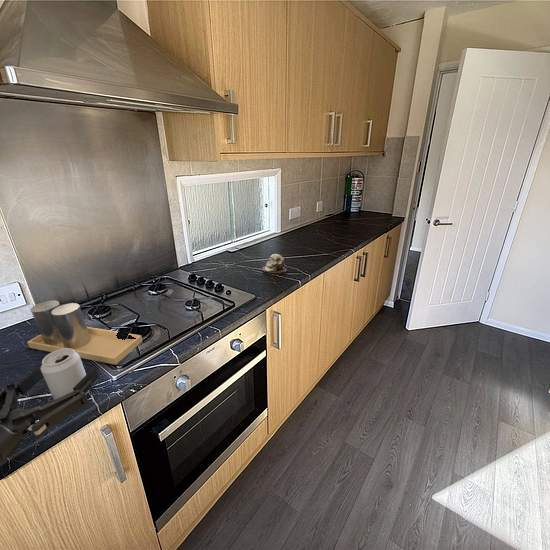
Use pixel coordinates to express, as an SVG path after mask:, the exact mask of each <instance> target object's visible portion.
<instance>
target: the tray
mask: <svg viewBox="0 0 550 550" xmlns="http://www.w3.org/2000/svg"><path fill="white" fill-rule="evenodd" d="M86 327H87V329H88V332H89V335H90V341H89V342H88V343H87V344H86V345H84V346H82V347H80V348H77V349H73V350H74V352H77V353H78V354H79V356H80V359H85V360H89V361H90V360H91V361H94V362H101V363H104V364H110V365H115V366H117V365H119V364H120V362H121V361H123V360H124V359H126V358H127V357H128V355H129V354H131V353H132V352H134V350H135V349H136V348H137V347H139V346H140V345H141V344H143V337H142V334H141V335H140V334H134V333H129V334H128V335H131V336H132V337H134V338H136V339H125V340H124V339H123V340H122V339H118V338H117V336H116V335H117V333H118V332H119V331H116V330H109V329H104V328H97V327H90V326H86ZM26 343H27V345H28V347H29V348H31V349H35V350H39V351H45V352H49V353H52V352H54V351H56V350H59V349H63V348H64V345H63V343H60V344H57V345H47V344H44V341H43V339H42V337H41V334H40V333H39V335H36V336H35V337H33V338H31V339H30V340H28V341H27V342H26Z"/></svg>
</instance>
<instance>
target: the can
mask: <svg viewBox="0 0 550 550" xmlns="http://www.w3.org/2000/svg"><path fill="white" fill-rule="evenodd" d="M41 365H42V366H41V372H42V374H43V376H44V377H43V379H44V381H45V383H46V385H47V387H48V390H49V392H50V395H51V396H52V399H53V401H54V400H56V399H58V398H60V397H62V396H64V395H66V394H69V393H71V392H73V391H74V390H73V388H74V387H75V386H76V385H77V384H78V383H79V382H80V381H81V380H82V379H83V378H84V377H85V376H86V375H87V373H86V370H85V367H84V363H83V361H82V358H80V356H79V354H78V353H77V352H74V350H73V349H71V348H63V349H59V350H56V351H54V352H49V353H48V354H46V355H45V356H44V358H42V360H41ZM89 392H90V390H89V391H88V392H87V393H86V395H87V394H89ZM73 398H74V397H73Z"/></svg>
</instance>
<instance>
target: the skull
mask: <svg viewBox="0 0 550 550" xmlns="http://www.w3.org/2000/svg"><path fill="white" fill-rule="evenodd" d="M268 259H269V260H267V261H266V264H265V265H264V266H263V267H262V268H261V269H262V272H265V273H269V274H275V275H276V274H282V273H285V272H287V271H288V268H287V267H286V266H285V258H284V257H283V256H282V255H280V254H278V253H274V254H271V255H270V256H269V258H268Z"/></svg>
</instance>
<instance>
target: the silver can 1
mask: <svg viewBox="0 0 550 550" xmlns="http://www.w3.org/2000/svg"><path fill="white" fill-rule="evenodd" d="M59 306H61V304H60V302H59V300H54V299H53V300H46V301H43V302H39V303H37V304H35V305H33V306H32V307H31V308H30V313H31V315H32V317H33V320H34V322H35V324H36V327H37V329H38V332H39V335H40V334H41V337H42V339H43V341H44V344H47V345H57V344H60V343H62V340H61V337H60V335H59V332H58V330H57V327H56V324H55V322H54V319H53V317H52V314H51V312H52V310H53V309H55V308H57V307H59Z"/></svg>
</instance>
